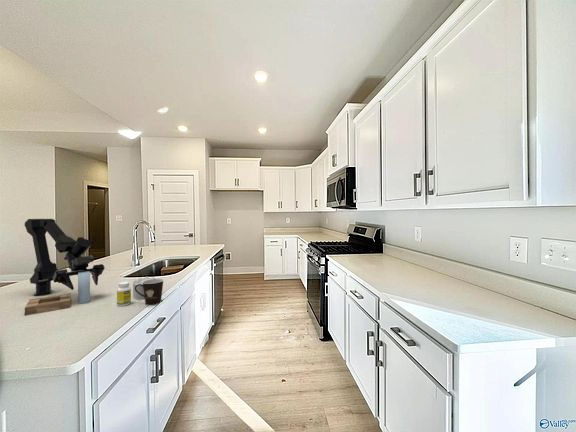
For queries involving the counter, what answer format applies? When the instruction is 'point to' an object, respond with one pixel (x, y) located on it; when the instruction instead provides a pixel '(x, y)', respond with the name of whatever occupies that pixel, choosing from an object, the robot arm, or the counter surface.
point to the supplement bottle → (123, 294)
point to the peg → (83, 287)
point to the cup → (139, 288)
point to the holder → (48, 304)
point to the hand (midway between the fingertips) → (85, 286)
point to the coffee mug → (152, 291)
